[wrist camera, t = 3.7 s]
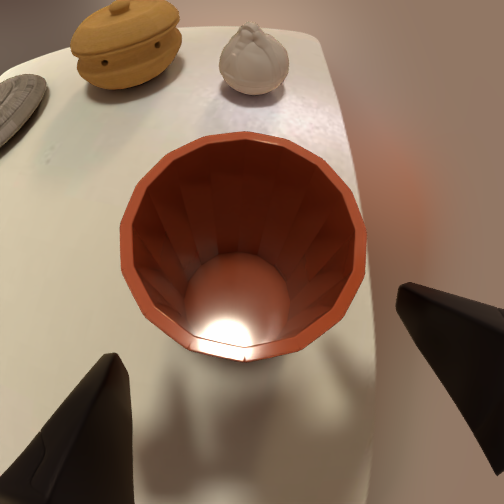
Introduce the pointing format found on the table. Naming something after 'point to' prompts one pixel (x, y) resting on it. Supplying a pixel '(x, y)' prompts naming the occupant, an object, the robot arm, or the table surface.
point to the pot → (127, 43)
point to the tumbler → (243, 246)
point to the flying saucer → (18, 102)
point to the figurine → (253, 61)
